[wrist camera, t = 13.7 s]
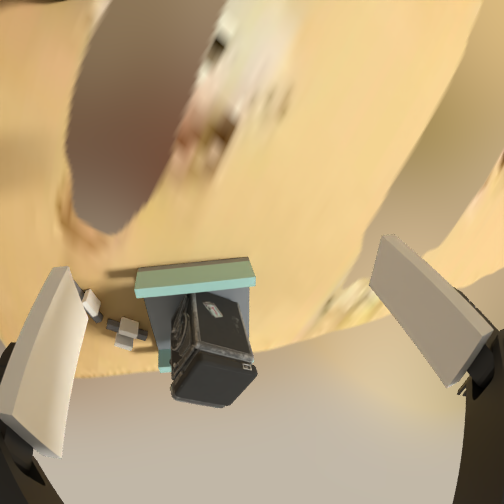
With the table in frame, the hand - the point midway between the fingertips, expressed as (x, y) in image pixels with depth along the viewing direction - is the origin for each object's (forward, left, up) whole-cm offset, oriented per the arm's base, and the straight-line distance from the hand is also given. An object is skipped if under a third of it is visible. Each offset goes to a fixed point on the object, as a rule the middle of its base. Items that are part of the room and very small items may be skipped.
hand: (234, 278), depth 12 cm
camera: (+25, -2, -26) cm, 36 cm away
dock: (+25, -2, -27) cm, 37 cm away
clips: (+25, -17, -27) cm, 40 cm away
